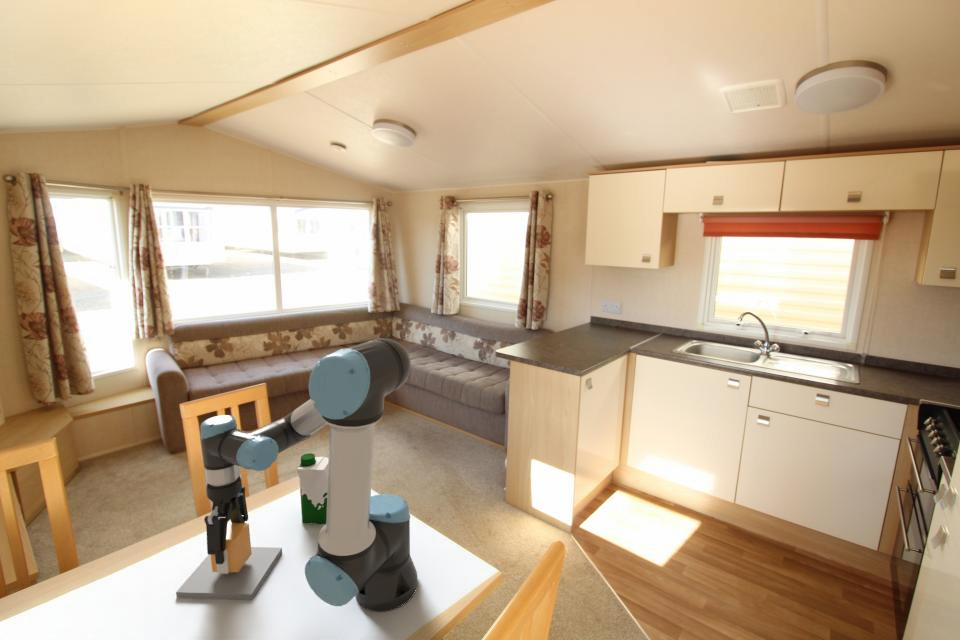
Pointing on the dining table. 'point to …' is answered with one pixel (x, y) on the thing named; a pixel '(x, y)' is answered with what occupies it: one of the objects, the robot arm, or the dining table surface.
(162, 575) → the dining table surface
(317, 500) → the milk carton
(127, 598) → the dining table surface
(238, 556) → the wooden toy block
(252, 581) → the board
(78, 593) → the dining table surface
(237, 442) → the robot arm
